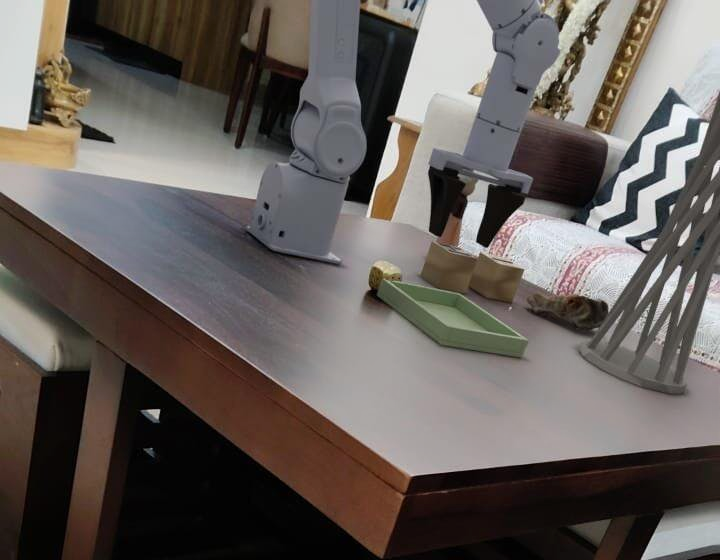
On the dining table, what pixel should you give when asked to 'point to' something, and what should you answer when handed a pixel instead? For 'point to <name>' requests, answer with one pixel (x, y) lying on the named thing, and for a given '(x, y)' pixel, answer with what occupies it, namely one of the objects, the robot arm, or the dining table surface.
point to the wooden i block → (496, 277)
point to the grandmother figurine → (458, 212)
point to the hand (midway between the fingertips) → (458, 239)
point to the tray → (452, 319)
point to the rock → (571, 309)
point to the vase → (636, 362)
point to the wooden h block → (448, 267)
